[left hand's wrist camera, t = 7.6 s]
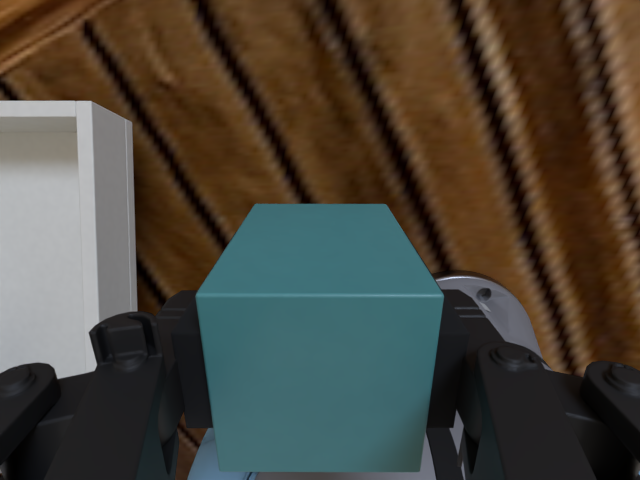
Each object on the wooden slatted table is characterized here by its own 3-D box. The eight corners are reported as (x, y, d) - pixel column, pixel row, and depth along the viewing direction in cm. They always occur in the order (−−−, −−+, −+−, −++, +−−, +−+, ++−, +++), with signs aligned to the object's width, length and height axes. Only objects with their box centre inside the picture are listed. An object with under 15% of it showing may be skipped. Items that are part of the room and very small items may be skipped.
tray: (-53, 122, 28) (-135, 100, 23) (132, 122, 28) (91, 100, 23) (-36, 429, 29) (-110, 473, 24) (141, 429, 29) (104, 473, 24)
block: (386, 203, 14) (445, 294, 7) (379, 317, 16) (421, 474, 9) (254, 203, 14) (193, 294, 7) (261, 317, 16) (218, 473, 9)
